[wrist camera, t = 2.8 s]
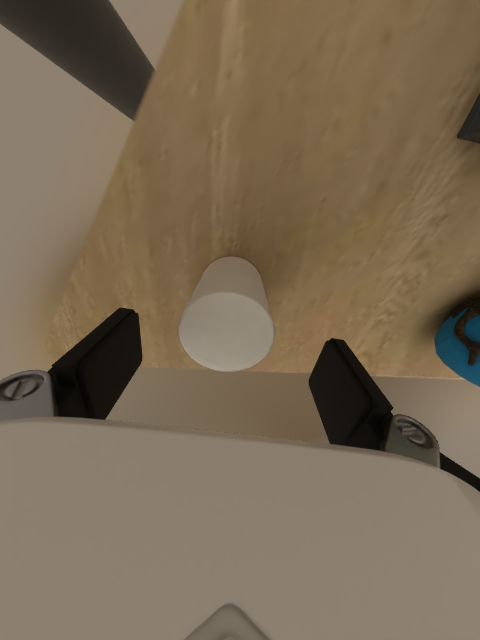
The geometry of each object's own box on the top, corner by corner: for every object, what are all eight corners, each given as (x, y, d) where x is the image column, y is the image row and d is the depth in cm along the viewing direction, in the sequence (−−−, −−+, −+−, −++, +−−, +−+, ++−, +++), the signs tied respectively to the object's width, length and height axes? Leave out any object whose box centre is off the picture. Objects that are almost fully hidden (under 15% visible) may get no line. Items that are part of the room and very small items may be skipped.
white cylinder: (199, 309, 18) (177, 366, 12) (203, 251, 15) (178, 284, 9) (255, 318, 18) (263, 376, 12) (268, 261, 16) (286, 300, 10)
